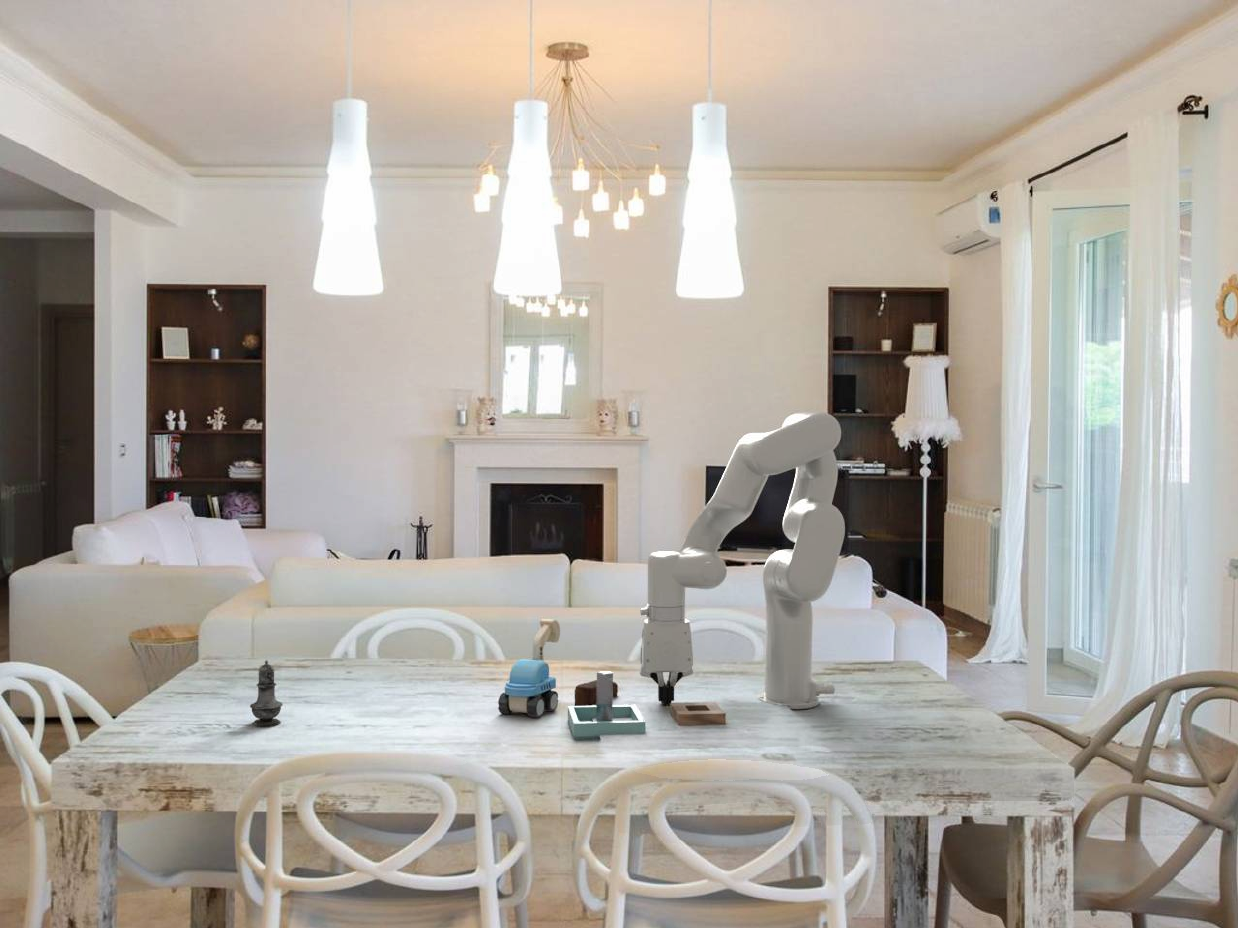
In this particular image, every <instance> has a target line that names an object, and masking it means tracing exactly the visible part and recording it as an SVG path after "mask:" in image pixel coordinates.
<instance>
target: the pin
mask: <svg viewBox="0 0 1238 928" xmlns="http://www.w3.org/2000/svg"><path fill="white" fill-rule="evenodd" d="M596 680H597V704H596V705H595V706H596V718H595V719H596V720H595V722H601V721H613V717H612V714H613V705H614V702H613V701H614V700H613V699H614V698H613V682H614V681H613V680H614V672H612V671H605V670H604V671H603V670H602V671H598V672H596Z"/></svg>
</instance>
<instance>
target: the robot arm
mask: <svg viewBox="0 0 1238 928" xmlns="http://www.w3.org/2000/svg"><path fill="white" fill-rule="evenodd" d="M841 438H842V428H841V425H840V423H839V421H838V420H837V419H836V417H834V416H833V415H831V414H829V413H828V412H823V411H804V412H803V411H802V412H796V413H793V414H791V415H789V416H788V417H787V418H786V419H785V420H784V422H783V424H782V427H780V428H777V429H775V430H771V431H768V432H764V431H763V432H759V431H758V432H756V431H755V432H750V433H747V434H746V435H744V436H742V438H741V439H739V441H738V443H737V444H736V445H735V448H734V450H733V453H732V455H731V457H730V459H729V461H728V464H727V466H726V467H725V470H724V472H723V474H722V476H721V479H720V480H719V483H718V485H717V487H716V489H715V492H714V493H713V496H712V497H711V498H710V500H709V501H708V502H707V503H706V505H705V506H704V507H703V509H702V511H701V512H700V513H699V515H698V516H697V517H696V519H694V522H692V525H691V526H690V528H689V530H688V532H687V534H686V536H685V538H684V541H683V543H682V545H681V547H680V550H679V552H677V551H656V552H652V553H651V554H649V556H648V558H647V604H646V607H644V608H640V616H645V617H647V619H645V620H644V621H643V626H642V632H641V633H642V634H641V643H640V669H639V675H640V676H641V677H645V678H648V679H651V680H653V681H654V682H655V683H656V684H657V687H658V688H657V689H658V691H657V693H658V694H657V697H658V702H660V703H661V704H662V706H663V707H667V706H669V707H670V703H672V702H674V701H675V686H676V685H677V683H678V682H679V681H680V680H681V679H683V677H688V676H689V677H690V676H692V675H693V674H694V671H693V665H694V654H693V640H692V639H693V638H692V630H691V624H690V620H688V619H686V588H689V589H690V588H691V589H696V590H712V589H716V588H717V587H719V586H721V584H723V582H724V581H725V579H726V577H727V571H728V569H727V565H726V563H725V561H724V559H723V558H722V557H720V555H718V554H717V552H718V550H719V548H720V546H721V544H722V543H723V541H724V539H725V538H726V536H727V535H728V534H729V533H730V532H731V531H732V530H733V529H734V528H735V527H737V526H738V525H740V524H741V523H744V521H745V520H747V519H748V518H749V517H750V516H751V515H752V513H753V511H754V510H755V509H754V508H755V506H756V505H757V502H758V501H759V498H760V495H761V493H762V491H763V489H764V487H765V485H766V482H767V480H768V478H769V476H774V475H779V474H782V473H785V472H788V471H790V470H793V469H795V475H794V476H795V477H794V481H793V485H792V489H791V492H790V495H789V499H788V503H787V506H786V509H785V512H784V516H783V519H782V531H783V533H784V535H785V537H786V538H787V539H788V540H789V541H791V542H792V543H795V544H794V547H793V549H792V548H791V549H790V548H789V549H788V548H786V549H781V550H778V551H775V552H774V553H772V554H771V555H770V556H769V557H768V558H767V560H766V561H765V564H764V567H763V573H762V577H763V578H762V580H763V581H762V585H763V589H764V590H763V591H764V598H765V640H764V641H765V645H764V648H765V650H764V653H765V655H764V691H762V692H760V693H758V694H757V695H756V698H757V700H758V701H761V702H764V703H767V704H771V705H779V706H786V707H787V708H788V709H790V710H804V709H811V708H815V707H816V706H817V707H818V705H819V701H820V700H819V697H820V695H823V694H824V695H834V694H835V690H836V689H835V685H834V684H825V683H816V682H815V681H814V680H812V667H813V663H812V658H813V623H814V622H813V607H812V602H816V601H818V600H820V599H821V598H822V597H823V596H824V595H825V594H826V593H827V591H828V589H829V588H830V585H831V583H832V580H833V577H834V574H835V570H836V568H837V564H838V560H839V557H840V554H841V550H842V547H843V544H844V539H845V534H846V533H845V532H846V530H845V529H846V526H845V519H844V516H843V514H842V513H841V511H840V510H839V508H838V507H836V506H835V505H834V504H832V503H833V500H834V497H835V496H834V495H835V492H836V488H837V484H838V475H839V470H838V469H839V468H838V462H837V458H836V457H837V456H836V455H835V451H834V450H835V449H836V448H837V447H838V445H839V443H840V440H841ZM664 673H668V678H667V681H666V682H665V678H664Z"/></svg>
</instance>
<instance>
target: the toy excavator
mask: <svg viewBox="0 0 1238 928" xmlns="http://www.w3.org/2000/svg"><path fill="white" fill-rule="evenodd" d="M539 623H540V624H539V625H540V629H539V631H538V632H537V633H536V635H535V636H534V639H533V643H532V659H528V658H527V659H525V658H524V659H523V658H522V659H521V658H520V659H517V660H516V661H515V662H514V663H513V665H512V667H511V668H510V674H509V681H508V682H506V683H505V685H504V692H502V693H501V694H500V695H499V697H498V701H497V704H498V707H497V708H498V711H499V713H500V714H503V715H504V714H506V715H511V714H512V713H513V712H514V713H521V714H522V713H525V714H527V715H528V717H530V718H539V717H540V716H542V715H543V713H544V712H545V711H546V712H547V711H548V712H549V711H550V712H555V711H556V710H557V708H558V704H559V693H558V692H557V691H556V690H553V689H555V688H556V687H557V678H556V677H553V676H550V666H549V664H548V663H547V662H546V661H545V660H544V647H545V645H546V643H558V642H559V639H560V635H561V628H560V624H559V622H558V621H557V620H556V619H551V618H550V619H548V618H542V619H540V621H539Z"/></svg>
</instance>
